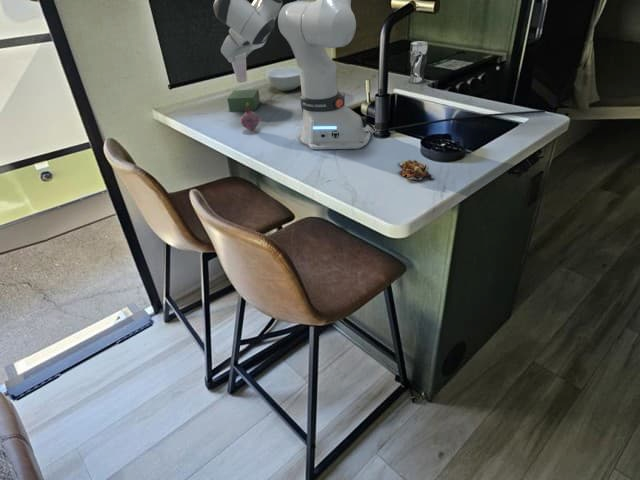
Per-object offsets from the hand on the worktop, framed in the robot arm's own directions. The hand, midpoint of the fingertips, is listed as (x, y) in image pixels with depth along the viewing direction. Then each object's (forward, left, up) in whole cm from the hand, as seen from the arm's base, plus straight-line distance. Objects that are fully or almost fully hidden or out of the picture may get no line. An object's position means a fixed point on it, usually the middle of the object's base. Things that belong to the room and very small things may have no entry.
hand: (236, 58), depth 160 cm
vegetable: (-13, +23, -18) cm, 33 cm away
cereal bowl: (-9, -24, -18) cm, 31 cm away
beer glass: (-62, -38, -18) cm, 75 cm away
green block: (0, 0, -18) cm, 18 cm away
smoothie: (-1, 0, -8) cm, 8 cm away
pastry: (-70, +44, -18) cm, 85 cm away
